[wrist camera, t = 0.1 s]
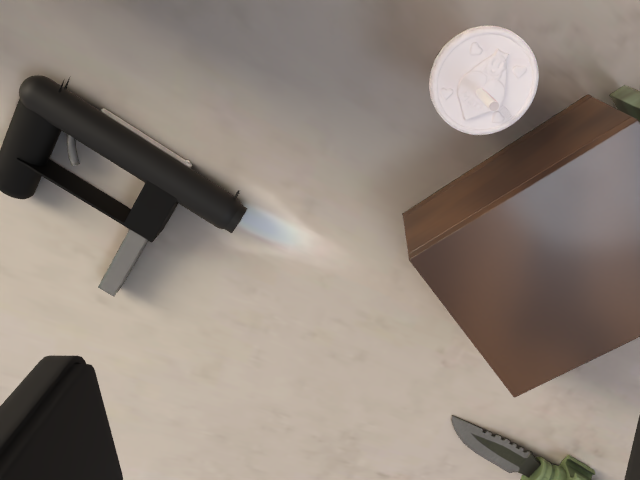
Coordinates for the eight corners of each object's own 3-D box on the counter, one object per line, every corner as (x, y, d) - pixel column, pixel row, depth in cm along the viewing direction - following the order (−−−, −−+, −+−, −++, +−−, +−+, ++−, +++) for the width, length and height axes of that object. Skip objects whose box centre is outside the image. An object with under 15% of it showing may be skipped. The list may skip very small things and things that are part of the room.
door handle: (166, 333, 52) (251, 205, 45) (-36, 217, 49) (22, 59, 42) (178, 313, 55) (260, 190, 48) (-11, 202, 52) (46, 52, 44)
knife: (596, 543, 55) (630, 511, 54) (437, 446, 55) (466, 411, 53) (585, 514, 59) (617, 483, 57) (435, 423, 59) (463, 389, 57)
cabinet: (588, 94, 42) (638, 119, 34) (671, 239, 47) (733, 291, 39) (402, 213, 48) (408, 259, 40) (492, 334, 52) (514, 398, 44)
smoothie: (403, 84, 43) (416, 125, 31) (444, 2, 41) (477, 10, 28) (476, 119, 44) (519, 174, 31) (521, 40, 41) (588, 65, 29)
